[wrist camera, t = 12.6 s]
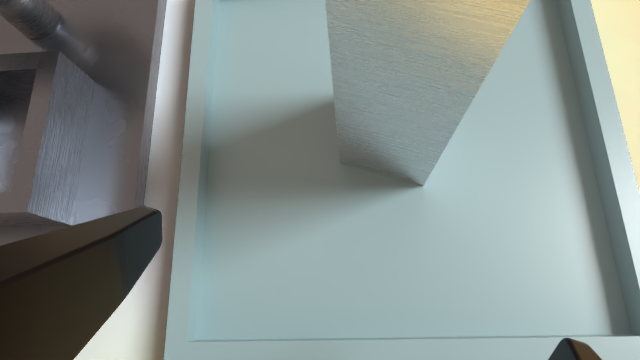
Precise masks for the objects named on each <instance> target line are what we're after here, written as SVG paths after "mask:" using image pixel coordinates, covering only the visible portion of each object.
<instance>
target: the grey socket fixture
mask: <svg viewBox="0 0 640 360" xmlns="http://www.w3.org/2000/svg"><path fill="white" fill-rule="evenodd" d="M166 1H167V0H0V246H1V245H4V244H8V243H11V242H15V241H19V240H22V239H26V238H29V237H33V236H37V235H40V234H44V233H48V232H51V231H55V230H58V229H62V228H66V227H69V226H73V225H76V224H80V223H84V222H87V221H91V220H94V219H98V218H102V217H105V216H109V215H112V214H116V213H120V212H123V211H127V210H131V209H134V208H138V207H142V206H143V204H144V195H145V186H146V177H147V169H148V160H149V151H150V142H151V133H152V124H153V116H154V107H155V98H156V89H157V80H158V71H159V63H160V54H161V45H162V36H163V27H164V18H165V10H166Z"/></svg>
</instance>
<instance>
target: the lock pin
mask: <svg viewBox="0 0 640 360" xmlns="http://www.w3.org/2000/svg"><path fill="white" fill-rule="evenodd" d="M529 2H530V0H325V5H326V16H327V27H328V38H329V49H330V61H331V72H332V83H333V94H334V105H335V116H336V127H337V138H338V149H339V160H340V163H341V164H344V165H348V166H352V167H355V168H359V169H363V170H366V171H370V172H374V173H377V174H381V175H384V176H388V177H392V178H395V179H399V180H403V181H406V182H410V183H414V184H417V185H421V186H424V184H425V183H426V181H427V179H428V177H429V176H430V174H431V172H432V170H433V169H434V167H435V165H436V163H437V162H438V160H439V158H440V157H441V155H442V153H443V151H444V150H445V148H446V146H447V144H448V143H449V141H450V139H451V137H452V136H453V134H454V132H455V130H456V129H457V127H458V125H459V123H460V122H461V120H462V118H463V116H464V115H465V113H466V111H467V109H468V108H469V106H470V104H471V103H472V101H473V99H474V97H475V96H476V94H477V92H478V90H479V89H480V87H481V85H482V83H483V82H484V80H485V78H486V76H487V75H488V73H489V71H490V69H491V68H492V66H493V64H494V62H495V61H496V59H497V57H498V55H499V54H500V52H501V50H502V49H503V47H504V45H505V43H506V42H507V40H508V38H509V36H510V35H511V33H512V31H513V29H514V28H515V26H516V24H517V22H518V21H519V19H520V17H521V15H522V14H523V12H524V10H525V8H526V7H527V5H528V3H529Z"/></svg>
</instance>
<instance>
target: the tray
mask: <svg viewBox="0 0 640 360" xmlns="http://www.w3.org/2000/svg"><path fill="white" fill-rule="evenodd" d="M563 338H571V339H575V340H578V341H581V342H584V343H586V344H588V345H589V346H590V347H591V348H592V349H593V350H594V351H595V352H596V353H597V354H598V355H599V357H600V358H601V359H602V360H640V193H639V189H638V185H637V181H636V177H635V173H634V169H633V165H632V161H631V157H630V154H629V150H628V146H627V142H626V138H625V134H624V130H623V126H622V122H621V118H620V114H619V111H618V107H617V103H616V99H615V95H614V91H613V87H612V83H611V79H610V75H609V72H608V68H607V64H606V60H605V56H604V52H603V48H602V44H601V40H600V36H599V32H598V29H597V25H596V21H595V17H594V13H593V9H592V5H591V1H590V0H530V2H529V3H528V5H527V7H526V8H525V10H524V12H523V14H522V15H521V17H520V19H519V21H518V22H517V24H516V26H515V28H514V29H513V31H512V33H511V35H510V36H509V38H508V40H507V42H506V43H505V45H504V47H503V49H502V50H501V52H500V54H499V55H498V57H497V59H496V61H495V62H494V64H493V66H492V68H491V69H490V71H489V73H488V75H487V76H486V78H485V80H484V82H483V83H482V85H481V87H480V89H479V90H478V92H477V94H476V96H475V97H474V99H473V101H472V103H471V104H470V106H469V108H468V109H467V111H466V113H465V115H464V116H463V118H462V120H461V122H460V123H459V125H458V127H457V129H456V130H455V132H454V134H453V136H452V137H451V139H450V141H449V143H448V144H447V146H446V148H445V150H444V151H443V153H442V155H441V157H440V158H439V160H438V162H437V163H436V165H435V167H434V169H433V170H432V172H431V174H430V176H429V177H428V179H427V181H426V183H425V184H424V186H421V185H417V184H414V183H410V182H406V181H403V180H399V179H395V178H392V177H388V176H384V175H381V174H377V173H374V172H370V171H366V170H363V169H359V168H355V167H352V166H348V165H344V164H341V163H340V160H339V149H338V138H337V127H336V116H335V105H334V94H333V83H332V72H331V61H330V49H329V38H328V27H327V16H326V5H325V0H195V10H194V21H193V33H192V44H191V56H190V67H189V78H188V90H187V101H186V112H185V124H184V135H183V146H182V158H181V169H180V180H179V192H178V203H177V214H176V226H175V237H174V248H173V260H172V271H171V283H170V294H169V305H168V317H167V328H166V339H165V351H164V360H548V359H549V357H550V356H551V354H552V353H553V351H554V350H555V348H556V346H557V345H558V343H559V342H560V341H561V340H562V339H563Z"/></svg>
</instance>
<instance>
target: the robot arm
mask: <svg viewBox="0 0 640 360" xmlns="http://www.w3.org/2000/svg"><path fill="white" fill-rule="evenodd" d="M161 243H162V215H161V212H160V211H158V210H156V209H153V208H150V207H146V206H142V207H138V208H134V209H131V210H127V211H123V212H120V213H116V214H112V215H109V216H105V217H102V218H98V219H94V220H91V221H87V222H84V223H80V224H76V225H73V226H69V227H66V228H62V229H58V230H55V231H51V232H48V233H44V234H40V235H37V236H33V237H29V238H26V239H22V240H19V241H15V242H11V243H8V244H4V245H1V246H0V360H73V359H74V358H75V357H76V356H77V355H78V354H79V352H80V351H81V350H82V349H83V348H84V347H85V345H86V344H87V343H88V342H89V341H90V339H91V338H92V337H93V336H94V335H95V334H96V332H97V331H98V330H99V329H100V328H101V327H102V325H103V324H104V323H105V322H106V321H107V319H108V318H109V317H110V316H111V315H112V314H113V312H114V311H115V310H116V309H117V308H118V306H119V305H120V304H121V303H122V301H123V300H124V299H125V298H126V296H127V295H128V293H129V292H130V291H131V289H132V288H133V286H134V285H135V283H136V282H137V280H138V279H139V277H140V276H141V275H142V273H143V272H144V270H145V269H146V267H147V266H148V264H149V263H150V261H151V260H152V258H153V257H154V256H155V254H156V253H157V251H158V250H159V248H160V246H161ZM548 360H602V359H601V358H600V357H599V355H598V354H597V353H596V352H595V351H594V350H593V349H592V348H591V347H590V346H589V345H588V344H586V343H584V342H581V341H578V340H575V339H571V338H563V339H562V340H561V341H560V342H559V343H558V345H557V346H556V348H555V350H554V351H553V353H552V354H551V356H550V357H549V359H548Z"/></svg>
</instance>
